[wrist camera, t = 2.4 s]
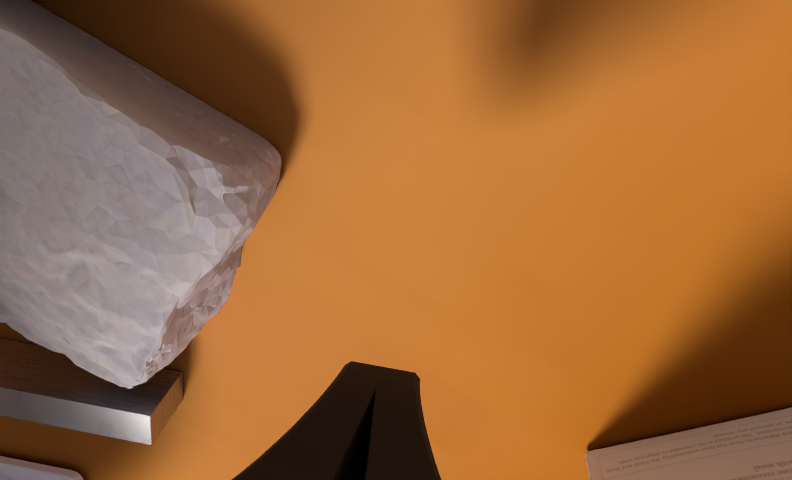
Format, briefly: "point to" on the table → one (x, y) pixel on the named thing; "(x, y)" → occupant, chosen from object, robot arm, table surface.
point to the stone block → (115, 200)
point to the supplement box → (704, 453)
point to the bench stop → (83, 395)
